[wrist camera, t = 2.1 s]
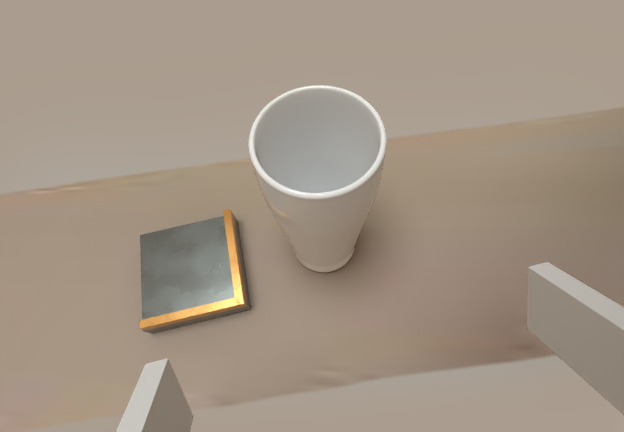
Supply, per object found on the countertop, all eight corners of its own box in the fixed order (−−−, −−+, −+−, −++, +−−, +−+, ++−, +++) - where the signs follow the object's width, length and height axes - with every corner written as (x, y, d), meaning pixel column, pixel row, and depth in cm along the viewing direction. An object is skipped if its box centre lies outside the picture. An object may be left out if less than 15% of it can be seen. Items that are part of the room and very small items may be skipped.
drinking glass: (324, 300, 28) (317, 229, 15) (268, 245, 31) (217, 139, 17) (379, 243, 30) (418, 132, 17) (322, 194, 32) (316, 62, 19)
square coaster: (237, 221, 32) (229, 209, 30) (250, 309, 28) (243, 303, 26) (148, 241, 31) (134, 230, 29) (151, 333, 28) (136, 329, 26)
